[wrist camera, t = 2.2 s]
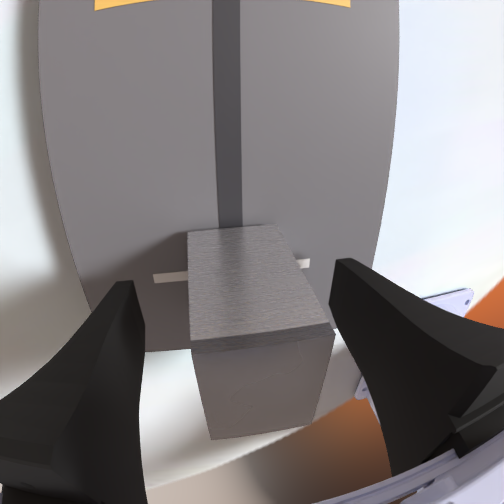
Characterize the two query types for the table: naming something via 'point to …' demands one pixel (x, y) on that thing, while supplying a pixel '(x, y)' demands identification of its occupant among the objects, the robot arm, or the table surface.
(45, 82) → the fader console
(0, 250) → the table surface
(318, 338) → the fader knob
